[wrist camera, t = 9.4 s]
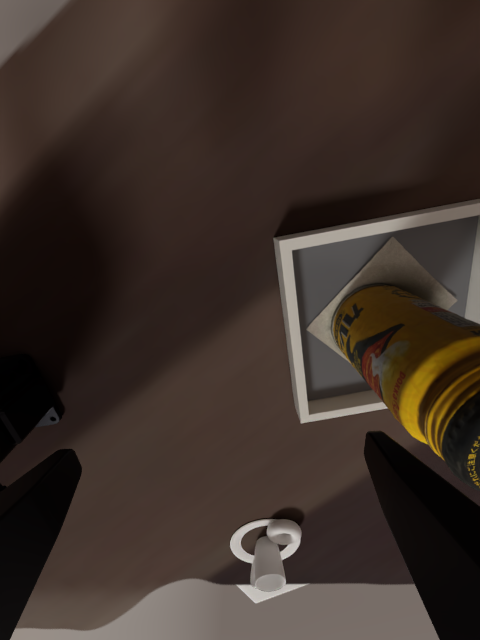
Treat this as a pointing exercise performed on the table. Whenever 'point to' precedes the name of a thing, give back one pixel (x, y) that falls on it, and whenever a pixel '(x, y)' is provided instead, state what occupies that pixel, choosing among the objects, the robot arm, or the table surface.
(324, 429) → the table surface
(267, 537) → the white ring with post
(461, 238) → the tray
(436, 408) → the condiment
